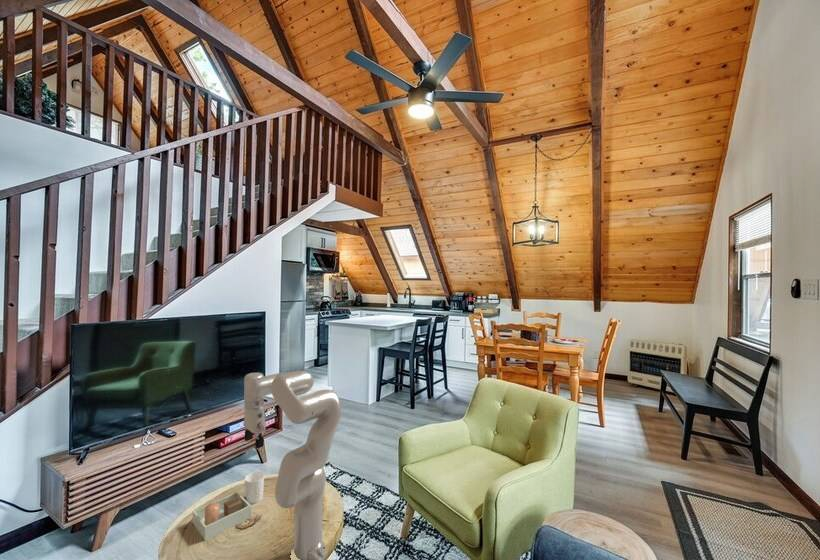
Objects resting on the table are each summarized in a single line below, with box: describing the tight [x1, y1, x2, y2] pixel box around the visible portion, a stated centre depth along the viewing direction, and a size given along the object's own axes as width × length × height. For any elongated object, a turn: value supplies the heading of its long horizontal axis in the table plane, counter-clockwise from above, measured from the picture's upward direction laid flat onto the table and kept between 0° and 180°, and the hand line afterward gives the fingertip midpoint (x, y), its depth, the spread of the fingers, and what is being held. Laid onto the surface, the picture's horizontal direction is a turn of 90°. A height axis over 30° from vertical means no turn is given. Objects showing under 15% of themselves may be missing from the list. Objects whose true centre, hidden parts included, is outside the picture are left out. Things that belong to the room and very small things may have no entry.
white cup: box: [244, 471, 265, 505], centre depth 159 cm, size 8×8×10 cm
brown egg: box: [205, 502, 219, 526], centre depth 142 cm, size 5×5×7 cm
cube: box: [224, 497, 242, 516], centre depth 148 cm, size 5×5×5 cm
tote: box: [192, 491, 252, 542], centre depth 145 cm, size 13×17×5 cm
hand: (254, 443), depth 152 cm, fingers open, 9 cm apart
